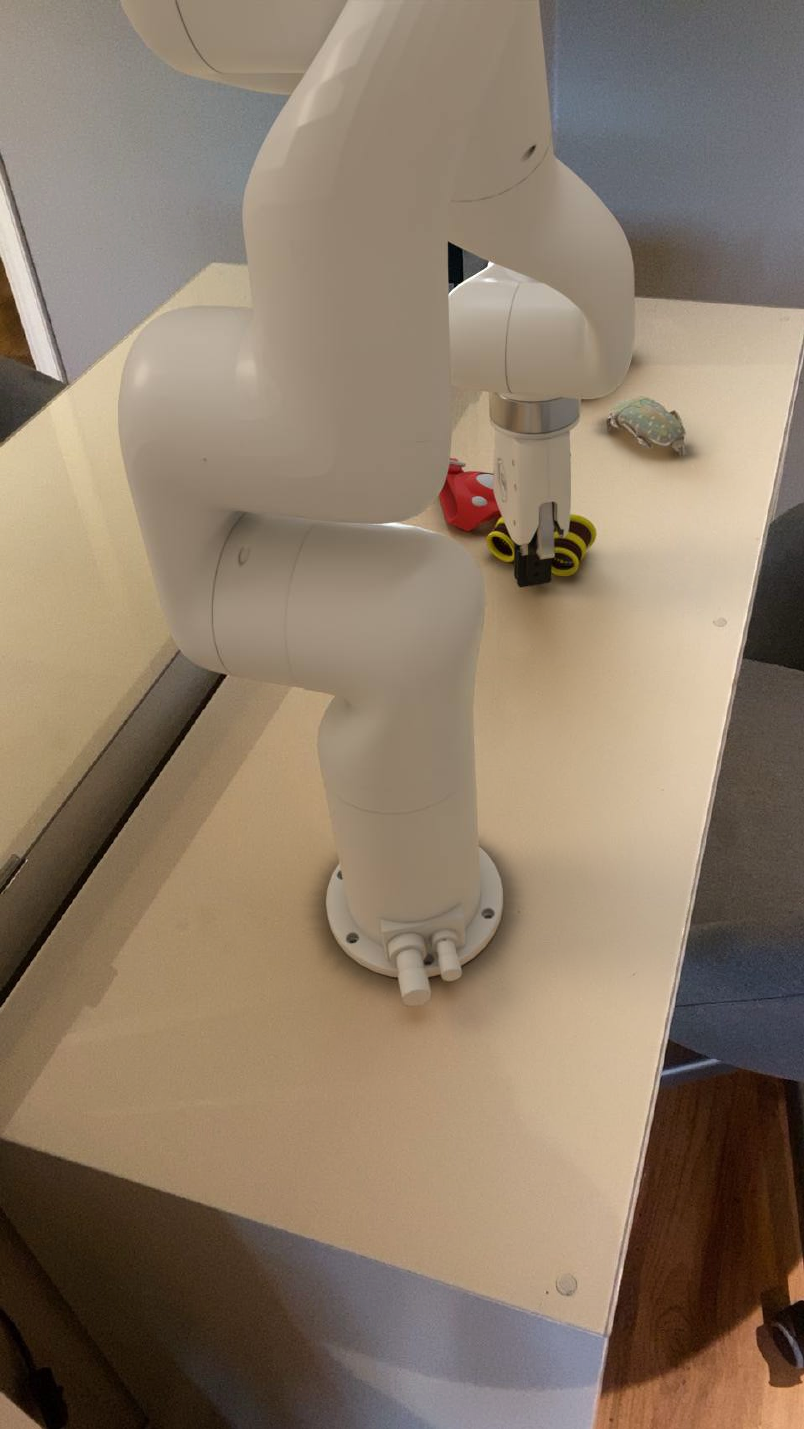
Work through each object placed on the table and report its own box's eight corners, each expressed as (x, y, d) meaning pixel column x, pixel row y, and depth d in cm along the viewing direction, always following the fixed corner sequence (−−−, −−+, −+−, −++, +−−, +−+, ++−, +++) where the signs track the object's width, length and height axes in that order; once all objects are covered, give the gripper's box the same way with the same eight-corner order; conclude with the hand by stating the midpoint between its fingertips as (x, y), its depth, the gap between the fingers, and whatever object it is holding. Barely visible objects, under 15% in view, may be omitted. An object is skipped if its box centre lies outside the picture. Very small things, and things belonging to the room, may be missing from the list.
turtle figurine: (688, 403, 120) (685, 367, 116) (687, 468, 114) (684, 432, 110) (610, 411, 123) (605, 376, 119) (605, 475, 117) (599, 440, 113)
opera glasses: (486, 563, 105) (480, 528, 101) (508, 527, 107) (504, 491, 103) (576, 588, 101) (574, 552, 97) (598, 550, 103) (596, 513, 99)
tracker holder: (543, 481, 111) (513, 512, 103) (530, 518, 113) (500, 551, 105) (440, 439, 113) (403, 467, 105) (430, 477, 116) (393, 506, 108)
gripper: (472, 367, 91) (477, 542, 104) (510, 453, 81) (511, 636, 93) (556, 355, 92) (551, 530, 105) (605, 439, 81) (593, 623, 94)
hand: (532, 580), depth 99 cm, fingers closed
